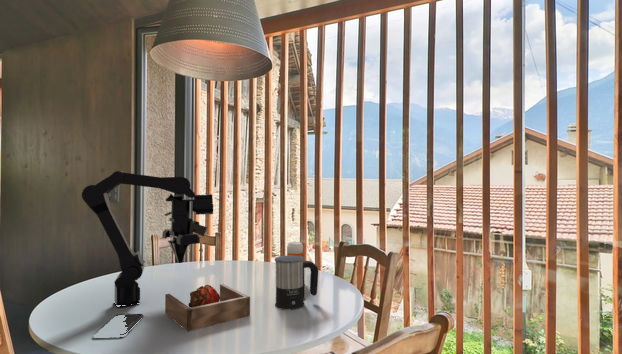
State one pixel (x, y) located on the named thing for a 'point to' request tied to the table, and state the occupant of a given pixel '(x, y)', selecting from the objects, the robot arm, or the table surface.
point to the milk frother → (293, 281)
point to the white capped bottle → (295, 249)
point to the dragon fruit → (203, 296)
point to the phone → (131, 320)
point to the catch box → (209, 309)
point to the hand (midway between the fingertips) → (180, 262)
